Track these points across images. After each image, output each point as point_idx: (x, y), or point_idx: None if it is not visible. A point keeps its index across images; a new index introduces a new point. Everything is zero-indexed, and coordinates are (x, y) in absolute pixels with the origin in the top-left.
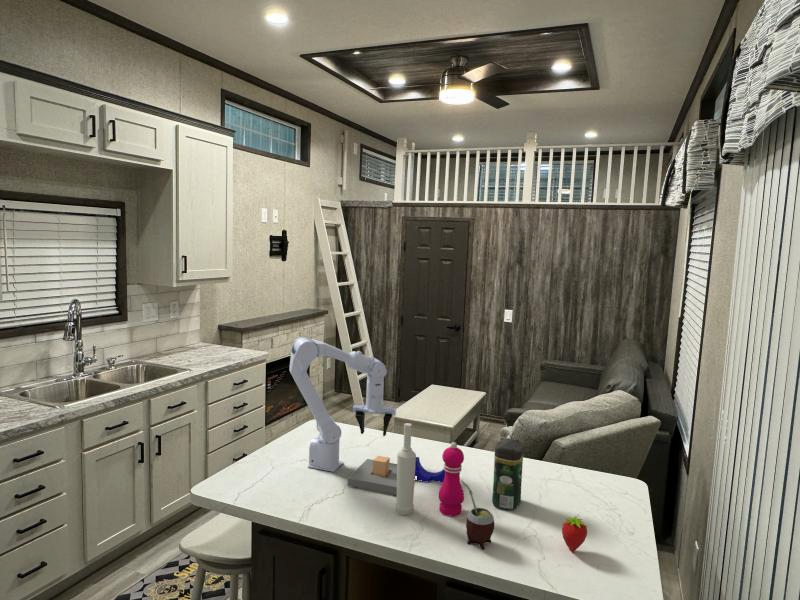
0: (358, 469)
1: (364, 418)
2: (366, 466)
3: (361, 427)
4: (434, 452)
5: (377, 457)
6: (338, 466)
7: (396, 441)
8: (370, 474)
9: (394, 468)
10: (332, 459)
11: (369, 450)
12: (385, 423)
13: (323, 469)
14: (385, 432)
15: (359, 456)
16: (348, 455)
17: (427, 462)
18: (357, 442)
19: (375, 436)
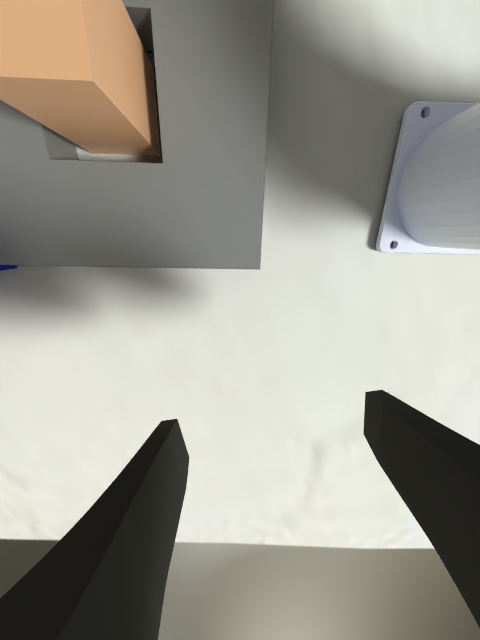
0: (257, 70)
1: (478, 622)
2: (225, 151)
3: (433, 434)
4: (66, 478)
5: (68, 15)
6: (393, 177)
7: (230, 506)
8: (143, 3)
9: (56, 195)
10: (474, 111)
11: (298, 413)
12: (48, 591)
13: (470, 104)
14: (140, 448)
15: (321, 349)
16: (370, 341)
17: (37, 396)
18: (362, 456)
19: (312, 514)
